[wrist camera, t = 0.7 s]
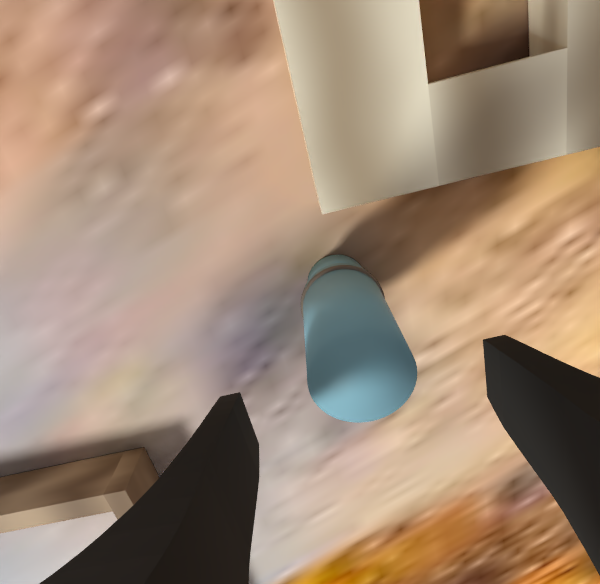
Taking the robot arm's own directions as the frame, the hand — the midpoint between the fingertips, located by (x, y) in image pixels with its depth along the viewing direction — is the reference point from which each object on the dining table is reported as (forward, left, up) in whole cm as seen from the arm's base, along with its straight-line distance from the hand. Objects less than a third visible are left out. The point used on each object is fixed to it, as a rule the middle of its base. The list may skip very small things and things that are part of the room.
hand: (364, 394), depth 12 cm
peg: (0, 0, -9) cm, 9 cm away
